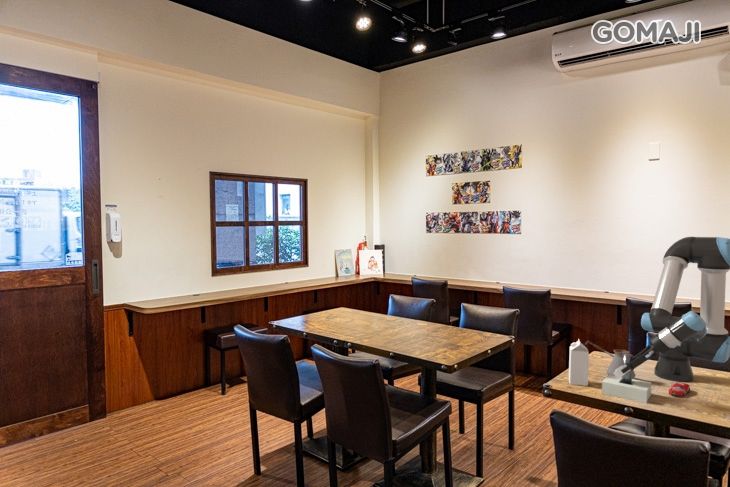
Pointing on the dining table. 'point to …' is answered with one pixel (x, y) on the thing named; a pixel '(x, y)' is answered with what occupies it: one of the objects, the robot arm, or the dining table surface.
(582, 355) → the milk carton
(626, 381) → the peg
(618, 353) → the coffee pot
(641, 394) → the hole block
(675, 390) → the race car
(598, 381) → the dining table surface
